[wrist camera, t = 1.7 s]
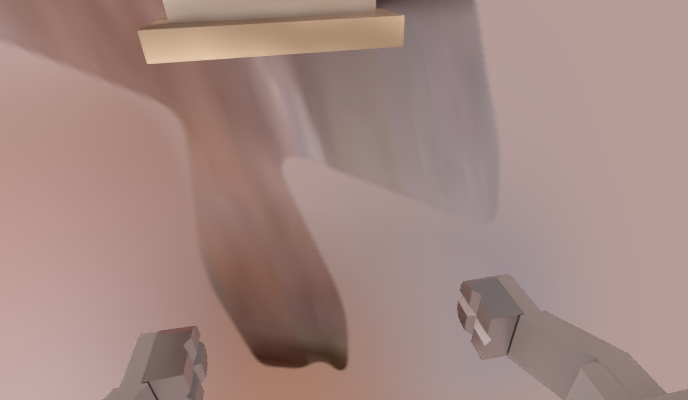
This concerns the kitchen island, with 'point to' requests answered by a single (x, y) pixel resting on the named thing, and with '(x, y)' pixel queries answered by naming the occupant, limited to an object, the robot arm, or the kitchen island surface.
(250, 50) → the mounted unit
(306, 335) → the kitchen island surface
